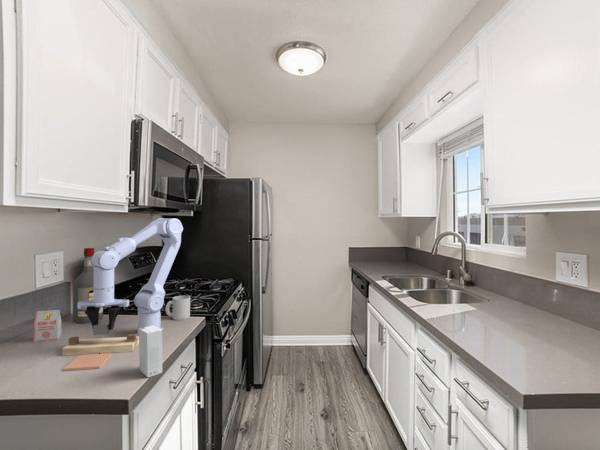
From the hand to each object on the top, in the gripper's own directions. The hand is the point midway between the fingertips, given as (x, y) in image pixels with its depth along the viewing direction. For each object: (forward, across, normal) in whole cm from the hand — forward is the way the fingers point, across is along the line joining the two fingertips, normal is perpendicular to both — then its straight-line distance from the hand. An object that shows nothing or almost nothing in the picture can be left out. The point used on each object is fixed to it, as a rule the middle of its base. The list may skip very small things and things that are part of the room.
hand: (103, 329), depth 101 cm
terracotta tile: (+6, 0, -10) cm, 12 cm away
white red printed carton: (+7, -22, +12) cm, 26 cm away
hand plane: (+6, 0, 0) cm, 6 cm away
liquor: (+7, -18, +33) cm, 38 cm away
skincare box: (+7, +19, -19) cm, 28 cm away
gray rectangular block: (+1, 0, 0) cm, 1 cm away
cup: (+7, +18, +30) cm, 36 cm away
